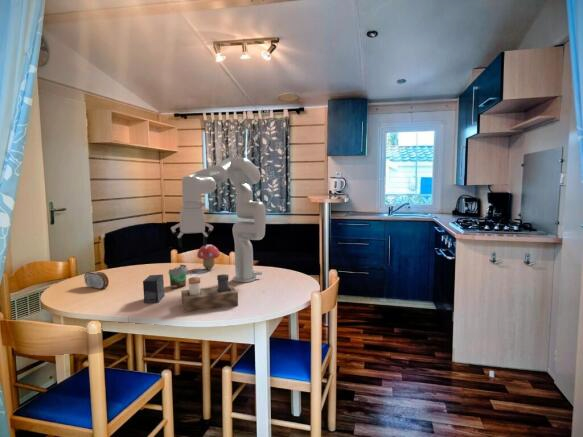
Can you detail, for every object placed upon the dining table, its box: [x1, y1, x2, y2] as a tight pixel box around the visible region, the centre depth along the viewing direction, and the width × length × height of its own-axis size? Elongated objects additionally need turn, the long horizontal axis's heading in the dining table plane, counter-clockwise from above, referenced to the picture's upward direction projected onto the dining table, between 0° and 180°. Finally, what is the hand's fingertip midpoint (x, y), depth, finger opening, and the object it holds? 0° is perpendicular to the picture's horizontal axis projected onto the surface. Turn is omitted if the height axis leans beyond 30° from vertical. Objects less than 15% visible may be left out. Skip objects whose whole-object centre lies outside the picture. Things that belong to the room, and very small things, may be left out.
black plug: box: [216, 273, 230, 292], centre depth 158 cm, size 5×5×12 cm
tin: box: [83, 270, 110, 290], centre depth 183 cm, size 15×3×8 cm, turn 65°
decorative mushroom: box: [196, 244, 221, 270], centre depth 222 cm, size 13×13×15 cm
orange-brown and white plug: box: [187, 276, 201, 296], centre depth 153 cm, size 5×5×12 cm
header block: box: [181, 284, 239, 313], centre depth 156 cm, size 22×12×6 cm, turn 111°
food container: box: [168, 263, 188, 290], centre depth 185 cm, size 12×6×10 cm, turn 168°
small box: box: [142, 274, 165, 304], centre depth 163 cm, size 11×6×10 cm, turn 5°
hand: (193, 246), depth 153 cm, fingers open, 9 cm apart
